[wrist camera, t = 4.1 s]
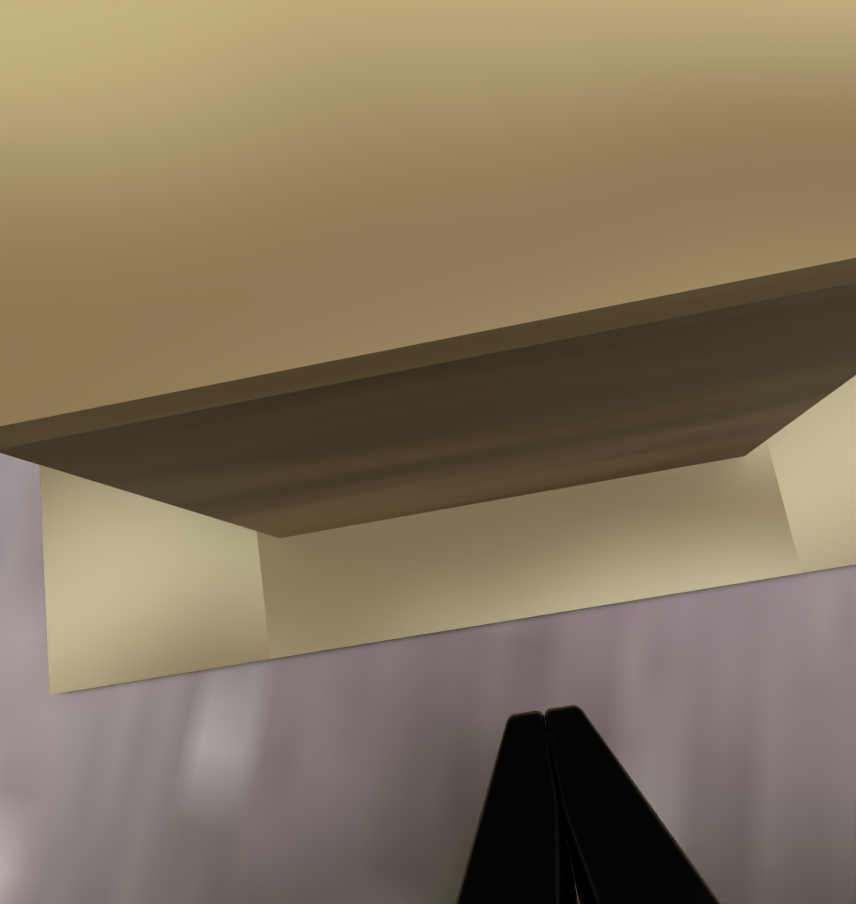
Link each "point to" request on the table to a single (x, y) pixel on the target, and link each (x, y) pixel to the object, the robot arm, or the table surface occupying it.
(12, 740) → the table surface
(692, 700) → the table surface
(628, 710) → the table surface
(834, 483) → the board
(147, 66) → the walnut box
